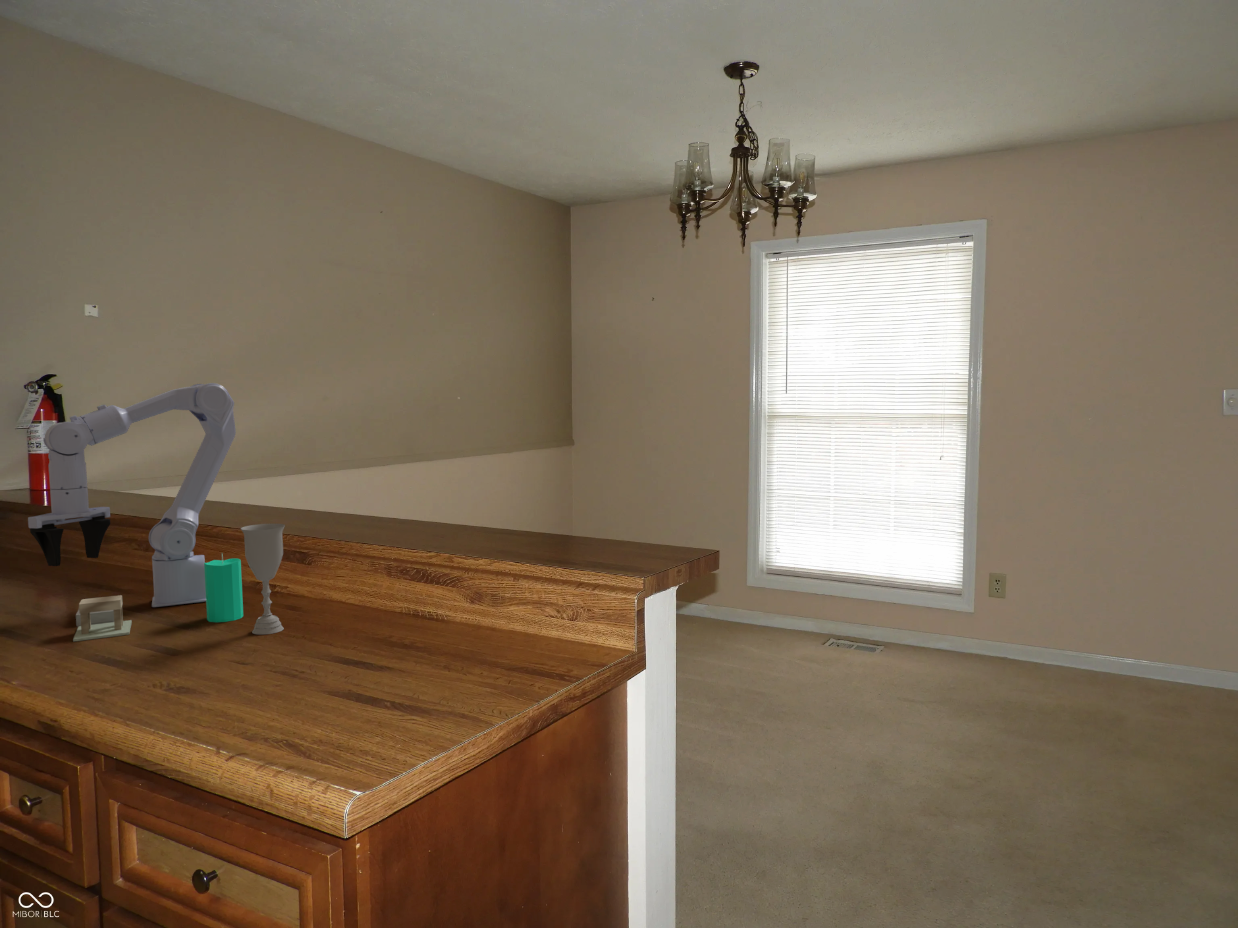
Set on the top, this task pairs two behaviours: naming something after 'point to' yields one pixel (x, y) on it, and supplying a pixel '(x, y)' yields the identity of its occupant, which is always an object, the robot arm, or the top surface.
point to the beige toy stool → (100, 605)
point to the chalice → (264, 567)
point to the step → (97, 617)
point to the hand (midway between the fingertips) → (73, 561)
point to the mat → (103, 631)
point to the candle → (223, 590)
